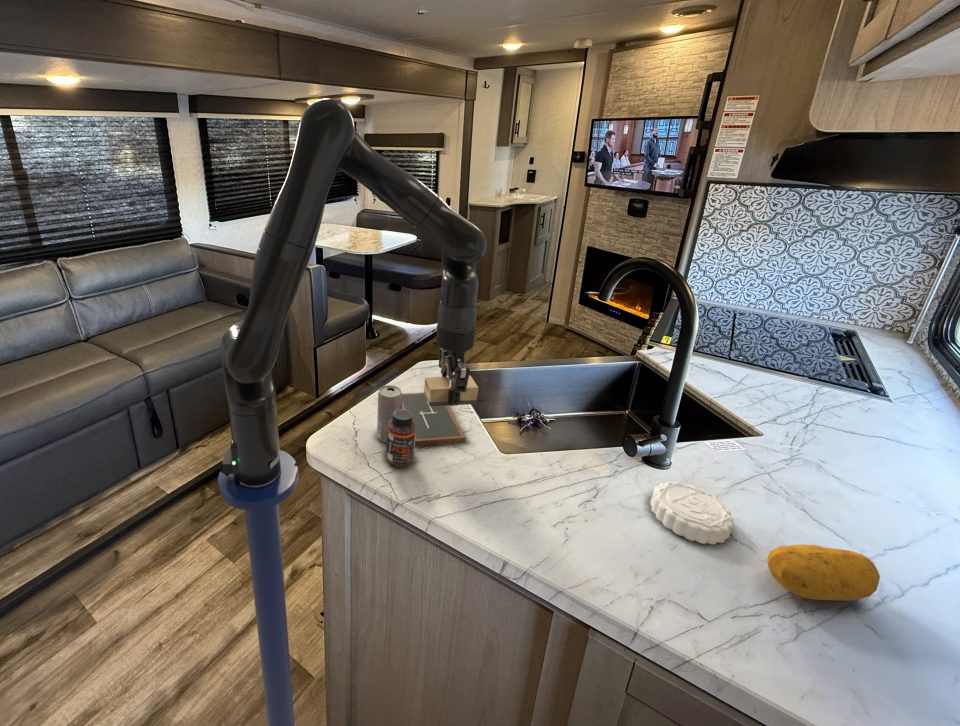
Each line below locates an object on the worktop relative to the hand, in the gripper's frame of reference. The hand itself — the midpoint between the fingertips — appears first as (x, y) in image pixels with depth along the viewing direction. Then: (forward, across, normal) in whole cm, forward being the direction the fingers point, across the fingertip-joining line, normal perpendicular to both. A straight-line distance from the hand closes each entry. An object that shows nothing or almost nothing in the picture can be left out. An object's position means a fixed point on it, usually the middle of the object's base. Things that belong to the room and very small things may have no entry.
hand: (449, 397), depth 97 cm
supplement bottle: (+13, +2, -11) cm, 17 cm away
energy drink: (+13, -6, -12) cm, 19 cm away
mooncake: (+13, +23, +39) cm, 47 cm away
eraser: (0, 0, 0) cm, 0 cm away
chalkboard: (+13, -12, -1) cm, 18 cm away
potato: (+13, +38, +47) cm, 62 cm away
